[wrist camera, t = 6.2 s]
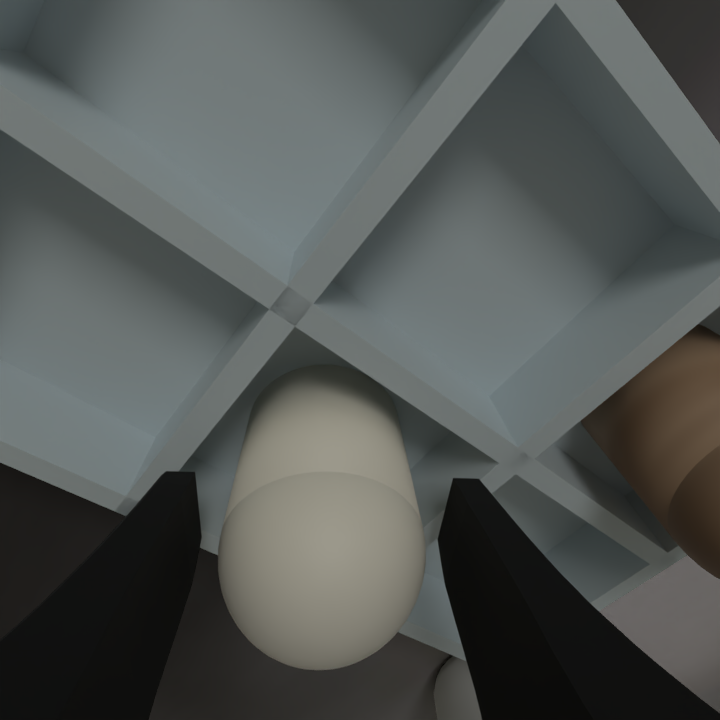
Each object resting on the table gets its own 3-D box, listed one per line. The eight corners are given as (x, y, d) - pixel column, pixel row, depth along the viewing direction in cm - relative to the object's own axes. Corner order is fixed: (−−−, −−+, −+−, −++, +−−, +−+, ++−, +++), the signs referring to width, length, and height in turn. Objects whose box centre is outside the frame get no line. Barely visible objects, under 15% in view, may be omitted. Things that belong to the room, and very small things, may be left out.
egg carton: (802, 353, 14) (912, 411, 11) (474, 594, 19) (498, 675, 16) (186, -397, 7) (97, -717, 4) (-95, 307, 11) (-220, 368, 9)
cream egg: (407, 368, 12) (470, 573, 7) (388, 486, 14) (425, 713, 9) (246, 360, 12) (181, 571, 7) (250, 482, 14) (203, 719, 9)
